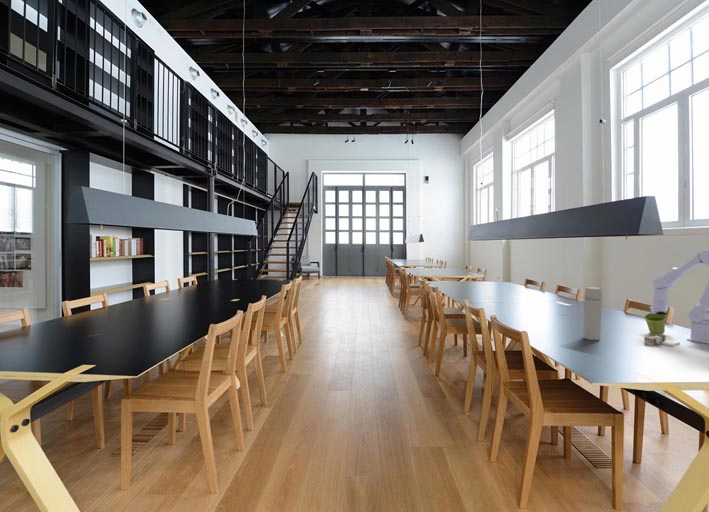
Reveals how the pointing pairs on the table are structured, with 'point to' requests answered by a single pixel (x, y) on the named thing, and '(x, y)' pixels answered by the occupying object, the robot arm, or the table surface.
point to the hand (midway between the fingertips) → (657, 325)
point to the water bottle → (592, 313)
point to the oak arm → (652, 339)
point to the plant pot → (656, 323)
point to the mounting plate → (670, 343)
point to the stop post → (657, 341)
